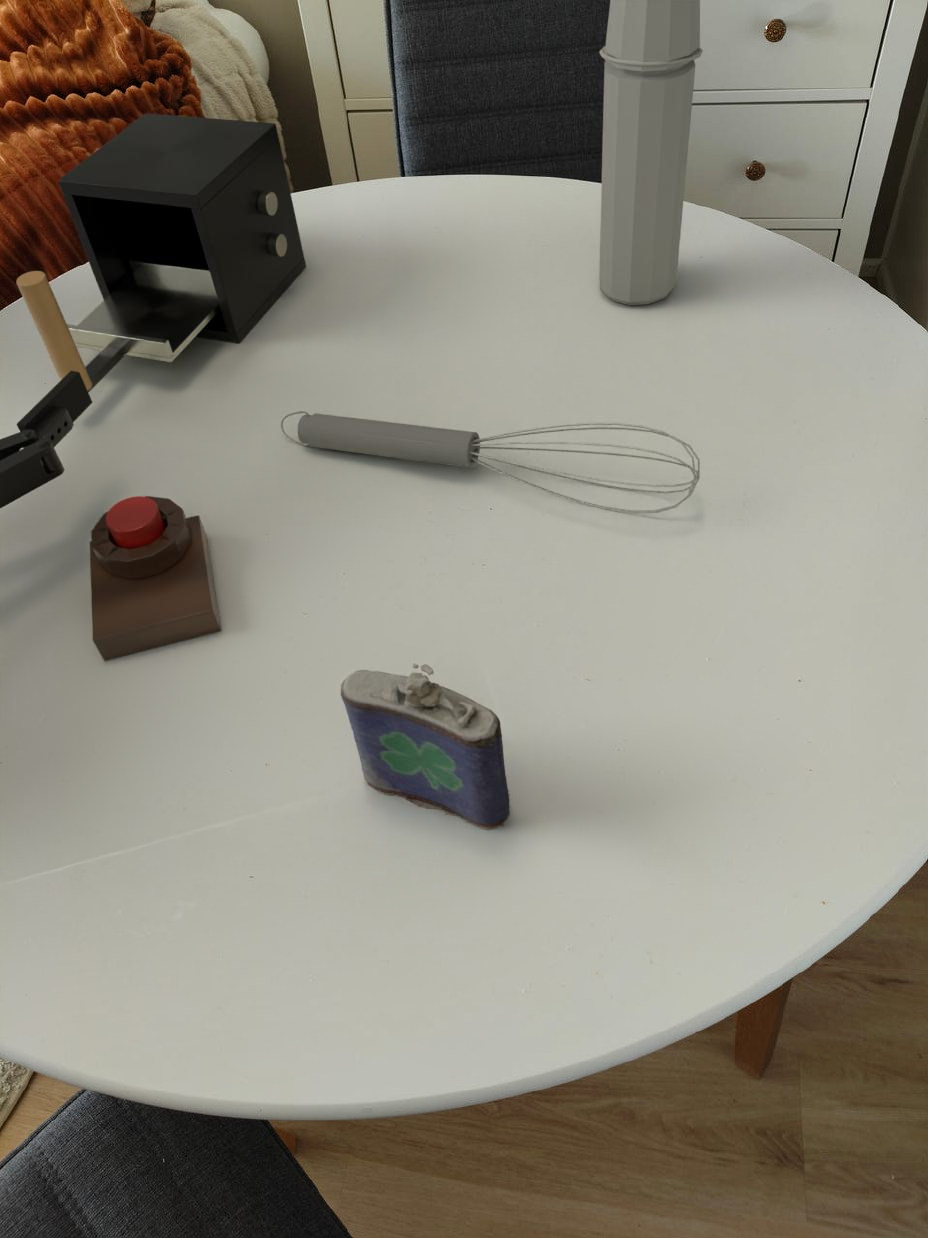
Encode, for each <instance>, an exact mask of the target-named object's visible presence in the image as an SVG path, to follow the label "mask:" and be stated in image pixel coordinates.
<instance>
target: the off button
mask: <svg viewBox="0 0 928 1238" xmlns="http://www.w3.org/2000/svg"><path fill="white" fill-rule="evenodd" d="M107 512H108V513H107V515H106V524H107V526H108V528H109V530H110V532H111V534H112V536H113V539H114V541H115V542H116V544H117V545H119V546H120V547H122V548H127V549H134V548H138V547H142V546H146V545H149V544H150V543H152V542H153V541H155V540H157V539H158V538H160V537H161V536H162V534H163V532H164V529H165V523H164V521H163V518H162V516H161V514H160V511H159V509H158V506H157V504H156V503H155V502H154V501H153V500H152V499H150V498H147V497H145V496H143V495H139V496H138V495H137V496H130V497H127V498H124V499H122V500H120V501H118V502H116V503H115V504H113V506H111V507H110V508H109V510H107Z"/></svg>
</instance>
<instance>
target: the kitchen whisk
mask: <svg viewBox="0 0 928 1238" xmlns="http://www.w3.org/2000/svg"><path fill="white" fill-rule="evenodd" d="M298 414H303V415H302V416H301V417H300V418H299V421H298V423H297V437H298V440H299V441H297V440H295V439H294V438H292V437H290V436H289V435H288V434H287V433H286V432H285V430H284V421H285V420H286V419H287V418H288V417H290V416H293V415H298ZM579 426H594V427H579ZM595 426H596V427H595ZM609 426H610V427H609ZM612 426H613V427H612ZM615 426H616V427H615ZM617 426H619V427H617ZM620 426H623V427H620ZM563 427H564V428H563ZM565 427H572V428H565ZM280 428H281V431H282V433H283V435H284V436H285V437H286V438H287V439H289V440H290V441H291V442H293V443H295V444H298V445H300V446H303V447H312V448H317V449H326V450H334V451H341V452H350V453H356V454H365V455H373V456H380V457H388V458H394V459H401V460H411V461H417V462H425V463H433V464H439V465H449V466H455V467H456V466H457V467H463V468H464V467H465V468H475V466H476V464H477V463H478V464H481V465H483V466H485V467H486V468H489V469H490V470H493V471H495V472H497V473H500V474H501V475H504V476H506V477H508V478H511V479H513V480H516V481H518V482H521V483H523V484H524V485H528V486H530V487H533V488H535V489H538V490H541V491H543V492H546V493H548V494H551V495H554V496H558V497H561V498H564V499H567V500H570V501H573V502H577V503H580V504H584V505H588V506H593V507H596V508H599V509H604V510H608V511H616V512H621V513H629V514H660V513H663V512H666V511H669V510H673V509H677V508H678V507H679V506H680V505H681V504H682V503H683V502H685V501H686V500H688V499H689V498H691V497H692V495H693V493H694V491H695V489H696V487H697V485H698V483H699V481H700V478H701V465H700V463H701V462H700V461H701V460H700V457H699V456H698V455H697V454H696V452H695V451H694V449H693V448H692V446H691V444H689V443H687V442H685V441H683V440H681V439H680V438H677V437H676V436H674V435H671V434H669V433H668V432H667V431H663V430H659V429H656V428H653V427H649V426H645V425H641V424H640V425H638V424H629V423H620V422H583V423H569V424H567V423H566V424H558V425H549V426H542V427H535V428H529V429H522V430H516V431H512V432H511V431H510V432H506V433H500V434H496V435H491V436H486V437H481V438H480V435H479V433H478V432H476V431H467V430H460V429H451V428H445V427H444V428H443V427H435V426H427V425H426V426H425V425H418V424H408V423H400V422H391V421H383V420H382V421H381V420H376V419H375V420H374V419H367V418H366V419H365V418H357V417H351V416H350V417H349V416H341V415H333V414H324V413H316V412H315V413H313V414H309V413H308V412H307V411H305V410H300V411H296V412H290V413H288V414H287V415H285V416H283V418H282V420H281V422H280ZM556 428H561V429H556ZM545 429H549V430H545ZM538 430H540V431H538ZM583 430H584V431H585V430H626V431H637V432H646V433H652V434H653V433H654V434H657V435H660V436H664V437H668V438H671V439H672V440H674V441H676V442H678V443H679V444H681V445H682V447H683V449H685V451H686V452H687V454H688V455H689V456H690V458H691V461H692V462H691V463H692V466H691V465H690V464H688V463H687V462H685V461H683V460H681V459H680V458H678V457H676V456H672V455H670V454H667V453H663V452H660V451H656V450H652V449H646V448H641V447H637V446H636V447H635V446H628V445H619V444H609V443H597V442H596V443H595V442H581V441H580V442H576V441H575V442H573V441H516V442H513V441H512V442H489V443H488V441H495V440H500V439H508V438H515V437H521V436H530V435H536V434H544V433H545V434H546V433H556V432H569V431H583ZM483 442H484V443H483ZM485 442H487V443H485ZM503 445H504V446H505V445H585V446H598V447H599V446H600V447H611V448H619V449H629V450H636V451H641V452H646V453H651V454H657V455H660V456H663V457H667V458H670V459H672V460H668V459H662V458H656V457H650V456H643V455H632V454H623V453H613V452H603V451H602V452H601V451H586V450H575V449H574V450H573V449H572V450H571V449H554V448H534V447H533V448H532V447H531V448H530V447H506V446H505V447H504V446H503ZM688 448H689V449H688ZM482 449H486V450H487V449H488V450H489V449H490V450H517V451H518V450H519V451H520V450H521V451H542V452H543V451H545V452H562V453H564V452H565V453H578V454H579V453H580V454H593V455H607V456H608V455H609V456H617V457H629V458H636V459H644V460H645V459H647V460H653V461H659V462H663V463H664V462H665V463H669V464H675V465H678V466H681V467H685V468H688V469H690V471H691V473H692V474H693V479H692V480H690V481H688V482H683V483H676V484H646V483H632V482H625V481H616V480H609V479H601V478H595V477H589V476H584V475H577V474H572V473H567V472H562V471H557V470H552V469H546V468H543V467H537V466H533V465H526V464H524V463H519V462H515V461H510V460H505V459H502V458H498V457H493V456H489V455H486V454H481V453H480V452H481V450H482ZM691 452H692V453H691ZM692 454H693V455H694V456H693V455H692ZM479 457H480V458H483V459H487V460H491V461H495V462H498V463H502V464H505V465H510V466H513V467H518V468H522V469H525V470H529V471H533V472H536V473H540V474H546V475H550V476H553V477H558V478H562V479H566V480H571V481H576V482H581V483H584V484H585V483H586V484H590V485H596V486H602V487H607V488H613V489H618V490H624V491H633V492H639V493H654V494H674V493H675V494H677V493H683V492H685V491H688V492H687V493H688V494H687V495H686V496H685V497H683V499H681V500H680V501H679V502H677V503H676V504H673V505H671V506H667V507H663V508H659V509H653V510H652V509H649V510H648V509H647V510H646V509H645V510H642V509H641V510H640V509H639V510H637V509H636V510H635V509H634V510H631V509H623V508H618V507H617V508H616V507H609V506H604V505H600V504H595V503H592V502H587V501H583V500H579V499H577V498H573V497H570V496H567V495H564V494H561V493H558V492H555V491H552V490H550V489H548V488H545V487H542V486H539V485H537V484H533V483H532V482H528V481H526V480H524V479H521V478H519V477H517V476H515V475H512V474H509V473H508V472H505V471H503V470H501V469H499V468H496V467H494V466H492V465H489V464H488V463H486V462H483V461H481V460H479ZM695 458H696V460H697V469H696V467H695ZM583 479H584V480H583ZM588 480H591V481H588ZM593 481H597V482H593ZM598 482H603V483H598ZM604 483H609V484H604ZM610 483H611V484H619V485H626V486H637V487H649V488H674V487H681V486H686V485H690V486H688V487H686V488H684V489H680V490H667V491H666V490H665V491H664V490H663V491H662V490H647V489H646V490H645V489H637V488H629V487H622V486H615V485H610Z"/></svg>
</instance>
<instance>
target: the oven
mask: <svg viewBox="0 0 928 1238" xmlns="http://www.w3.org/2000/svg"><path fill="white" fill-rule="evenodd" d="M57 183H58V186H59V188H60V191H61V193H62V196H63V199H64V202H65V204H66V207H67V209H68V212H69V214H70V217H71V220H72V222H73V225H74V227H75V230H76V233H77V235H78V238H79V240H80V243H81V246H82V249H83V251H84V253H85V256H86V258H87V261H88V263H89V266H90V268H91V271H92V274H93V276H94V279H95V281H96V284H97V286H98V289H99V291H100V294H101V296H102V300H103V301H104V300H105V299H106V298H107V297H108V296H109V295H110V294H112V293H113V292H114V291H115V290H116V289H117V288H118V287H119V286H120V285H121V284H122V283H123V282H124V281H125V280H126V279H128V278H129V277H130V276H131V275H132V274H133V273H132V270H131V267H130V264H129V260H130V259H131V258H136V259H144V260H151V261H159V262H167V263H175V264H183V265H190V266H198V267H206V268H209V271H210V274H211V278H212V281H213V285H214V288H215V291H216V295H217V298H218V302H219V305H220V308H221V309H220V310H219V312H218V313H217V314H216V315H215V316H214V317H213V318H212V319H211V320H210V321H209V322H208V323H207V325H206V326H205V327H204V328H203V329H202V330H201V331H200V332H199V333H198V334H197V335H196V336H195V337H194V338H200V339H201V338H202V339H209V340H215V341H221V342H228V343H235V344H240V343H241V342H242V341H243V340H244V339H245V338H246V336H247V335H248V334H249V333H250V332H251V331H252V329H253V328H255V326H256V325H257V324H258V323H259V322H260V320H261V319H262V318H263V317H264V316H265V315H266V314H267V312H268V311H269V310H270V309H271V308H272V306H273V305H274V304H275V303H276V302H277V301H278V300H279V299H280V297H281V296H282V295H283V294H284V293H285V292H286V291H287V290H288V289H289V287H290V286H291V285H292V284H293V282H295V280H296V279H297V278H298V277H299V276H300V274H301V273H302V272H304V270H305V269H306V268H307V263H306V259H305V254H304V250H303V249H304V248H303V243H302V239H301V235H300V230H299V226H298V221H297V217H296V213H295V212H296V211H295V209H294V208H295V207H294V202H293V198H292V194H291V188H290V184H289V178H288V175H287V170H286V165H285V161H284V156H283V151H282V146H281V142H280V138H279V133H278V128H277V124H276V123H275V122H265V121H264V122H263V121H262V122H261V121H249V120H237V119H223V118H210V117H199V116H186V115H185V116H184V115H172V114H161V113H160V114H159V113H147V112H145V113H144V114H142V115H141V116H140V117H139V118H137V119H136V120H134V121H133V122H132V123H130V124H129V125H128V126H127V127H125V128H124V129H123V130H122V131H121V132H119V133H118V134H116V135H115V136H114V137H112V138H111V139H110V140H109V141H107V142H106V143H105V144H103V145H102V146H101V147H99V148H98V149H96V150H95V151H94V152H92V154H90V155H88V156H87V158H85V159H84V160H82V161H81V162H80V163H78V164H77V165H76V166H75V167H73V168H72V169H71V170H70V171H68V172H67V173H65V174H64V175H62V176H61V177H60V178H59V179H58V180H57Z"/></svg>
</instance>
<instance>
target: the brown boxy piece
mask: <svg viewBox="0 0 928 1238" xmlns="http://www.w3.org/2000/svg"><path fill="white" fill-rule="evenodd" d="M144 497H147V498H150V499H152V500H153V501H154V502H155V503H156V504H157V506H158V509H159V511H160V514H161V516H162V518H163V521H164V523H165V529H164V532H163V534H162V536H161V537H160V538H158V539H157V540H155V541H153V542H152V543H150V544H149V545H146V546H142V547H138V548H134V549H127V548H122V547H120V546H119V545H117V544H116V542H115V541H114V539H113V536H112V534H111V532H110V530H109V528H108V526H107V524H106V515H107V513H108V511H106V512H105V513H103V514H102V515H101V517H100V518H99V519H98V521H97V522H96V523H95V525H94V527H93V528H92V529H91V531H90V535H91V538H90V539H91V540H90V541H89V565H90V566H89V567H90V595H91V599H90V600H91V624H92V627H91V629H92V642H93V644H94V645H95V647H96V649H97V651H98V652H99V655H100V656H101V658H102V659H103V661H104V662H106V661H109V660H110V661H111V660H113V659H117V658H121V657H125V656H130V655H133V654H137V653H141V652H146V651H149V650H153V649H157V648H161V647H164V646H167V645H172V644H176V643H180V642H185V641H189V640H192V639H195V638H200V637H204V636H208V635H211V634H215V633H219V632H221V631H222V629H221V627H222V626H221V621H220V616H219V608H218V602H217V594H216V587H215V582H214V575H213V568H212V563H211V556H210V555H211V554H210V548H209V542H208V536H207V533H206V531H205V528H204V525H203V522H202V520H201V517H200V515H198V514H197V515H193V516H189V517H187V515H186V514H185V511H184V509H183V508H182V507H181V506H179V505H178V504H177V503H176V502H175V501H173V500H171V499H170V498H167V497H159V496H151V495H145V496H144Z"/></svg>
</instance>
